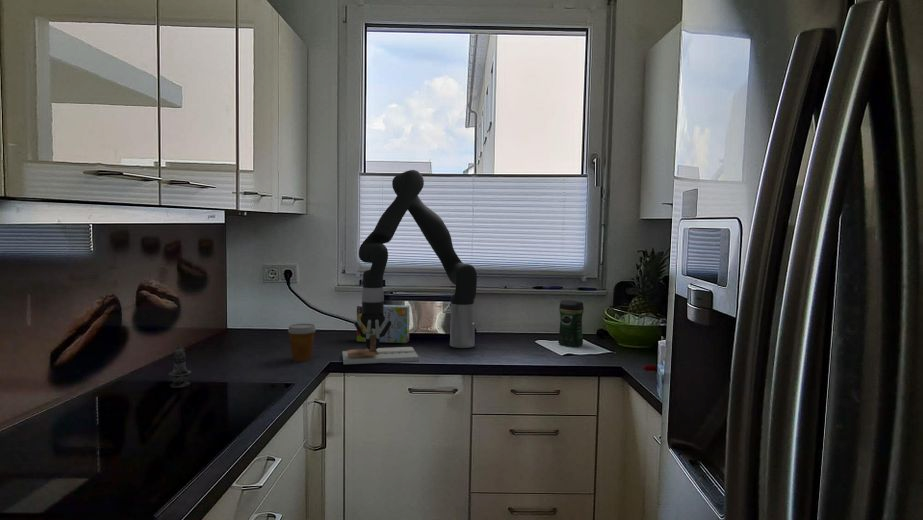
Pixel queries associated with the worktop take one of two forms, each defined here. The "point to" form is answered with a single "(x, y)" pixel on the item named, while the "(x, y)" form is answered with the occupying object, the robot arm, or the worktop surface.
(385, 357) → the board
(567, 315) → the coffee jar
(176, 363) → the dark grey tiered piece
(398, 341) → the snack box
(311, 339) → the disposable coffee cup
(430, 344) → the worktop surface
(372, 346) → the stub
